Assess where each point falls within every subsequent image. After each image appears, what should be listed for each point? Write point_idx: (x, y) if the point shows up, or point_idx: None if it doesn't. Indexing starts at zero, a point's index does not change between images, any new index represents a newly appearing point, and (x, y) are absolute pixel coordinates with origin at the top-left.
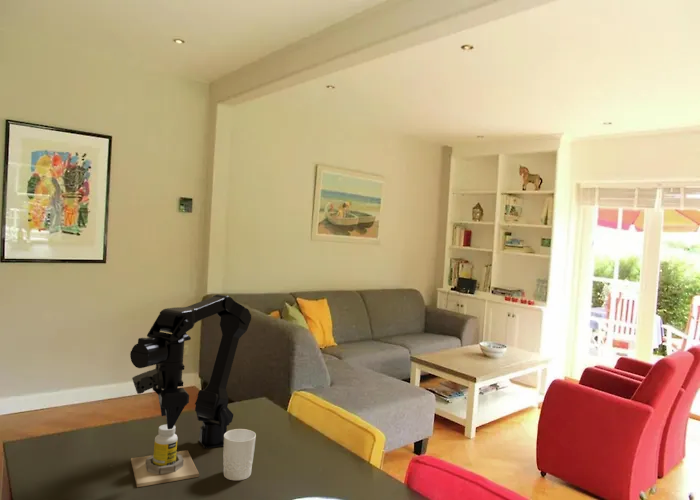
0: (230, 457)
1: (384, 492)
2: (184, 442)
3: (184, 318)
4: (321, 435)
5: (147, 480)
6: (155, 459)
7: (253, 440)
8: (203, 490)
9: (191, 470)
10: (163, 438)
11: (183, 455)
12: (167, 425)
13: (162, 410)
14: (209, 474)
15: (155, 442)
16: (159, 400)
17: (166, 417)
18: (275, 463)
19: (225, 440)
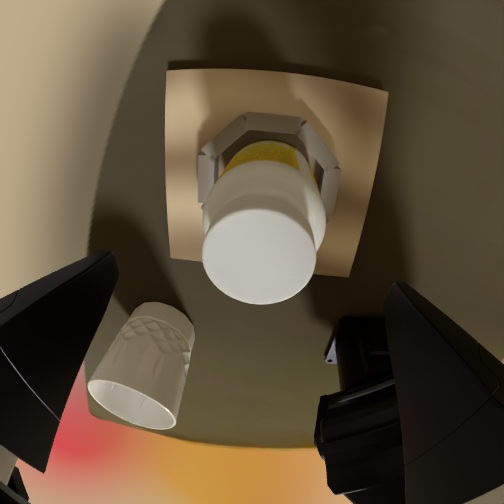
0: (113, 344)
1: (91, 406)
2: (416, 283)
3: None
4: (271, 446)
5: (177, 103)
6: (250, 147)
7: (111, 406)
8: (104, 239)
9: (197, 245)
10: (221, 206)
11: (316, 256)
12: (81, 259)
13: (406, 313)
14: (180, 279)
15: (252, 160)
16: (469, 363)
17: (33, 289)
18: (192, 385)
19: (109, 375)
